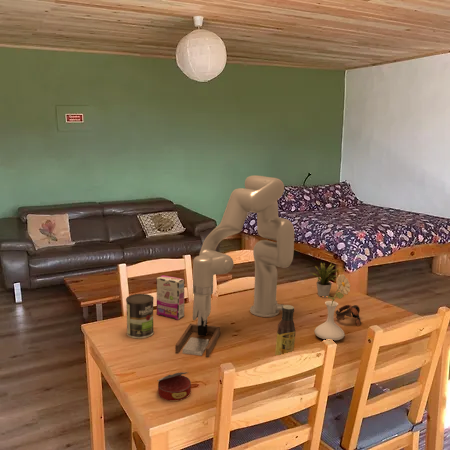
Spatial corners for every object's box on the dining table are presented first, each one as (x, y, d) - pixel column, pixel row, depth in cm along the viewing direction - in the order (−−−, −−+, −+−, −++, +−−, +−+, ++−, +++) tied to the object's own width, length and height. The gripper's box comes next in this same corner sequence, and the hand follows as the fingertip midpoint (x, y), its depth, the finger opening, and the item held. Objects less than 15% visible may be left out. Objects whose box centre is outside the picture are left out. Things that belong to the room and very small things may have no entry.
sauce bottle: (281, 367, 161) (284, 311, 157) (271, 359, 166) (273, 305, 162) (297, 363, 164) (300, 308, 160) (286, 355, 169) (289, 302, 165)
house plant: (331, 304, 218) (334, 269, 215) (303, 297, 226) (305, 264, 222) (342, 295, 230) (345, 262, 227) (315, 289, 237) (317, 257, 234)
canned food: (161, 412, 143) (144, 385, 141) (171, 391, 152) (156, 365, 150) (193, 402, 139) (176, 374, 137) (201, 381, 148) (186, 354, 146)
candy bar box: (185, 316, 201) (185, 278, 198) (178, 320, 197) (178, 282, 193) (163, 310, 206) (162, 274, 203) (156, 314, 202) (155, 277, 198)
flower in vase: (325, 345, 177) (330, 281, 172) (308, 333, 188) (312, 272, 182) (354, 340, 183) (359, 277, 177) (335, 328, 193) (340, 268, 187)
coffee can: (159, 332, 185) (159, 298, 182) (137, 341, 177) (137, 305, 174) (142, 325, 192) (142, 291, 189) (121, 332, 184) (120, 298, 181)
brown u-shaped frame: (220, 334, 185) (220, 326, 184) (208, 357, 167) (208, 349, 166) (190, 330, 187) (190, 323, 187) (175, 353, 169) (175, 345, 168)
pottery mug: (356, 330, 192) (347, 312, 192) (338, 333, 199) (329, 316, 199) (369, 314, 200) (360, 297, 200) (351, 318, 207) (342, 301, 207)
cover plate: (208, 344, 177) (208, 339, 177) (201, 357, 168) (201, 351, 167) (190, 342, 179) (190, 337, 178) (182, 354, 169) (182, 349, 169)
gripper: (198, 281, 186) (197, 325, 190) (187, 294, 172) (187, 342, 176) (217, 283, 185) (216, 327, 189) (208, 296, 170) (207, 344, 174)
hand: (202, 334), depth 182 cm, fingers closed
